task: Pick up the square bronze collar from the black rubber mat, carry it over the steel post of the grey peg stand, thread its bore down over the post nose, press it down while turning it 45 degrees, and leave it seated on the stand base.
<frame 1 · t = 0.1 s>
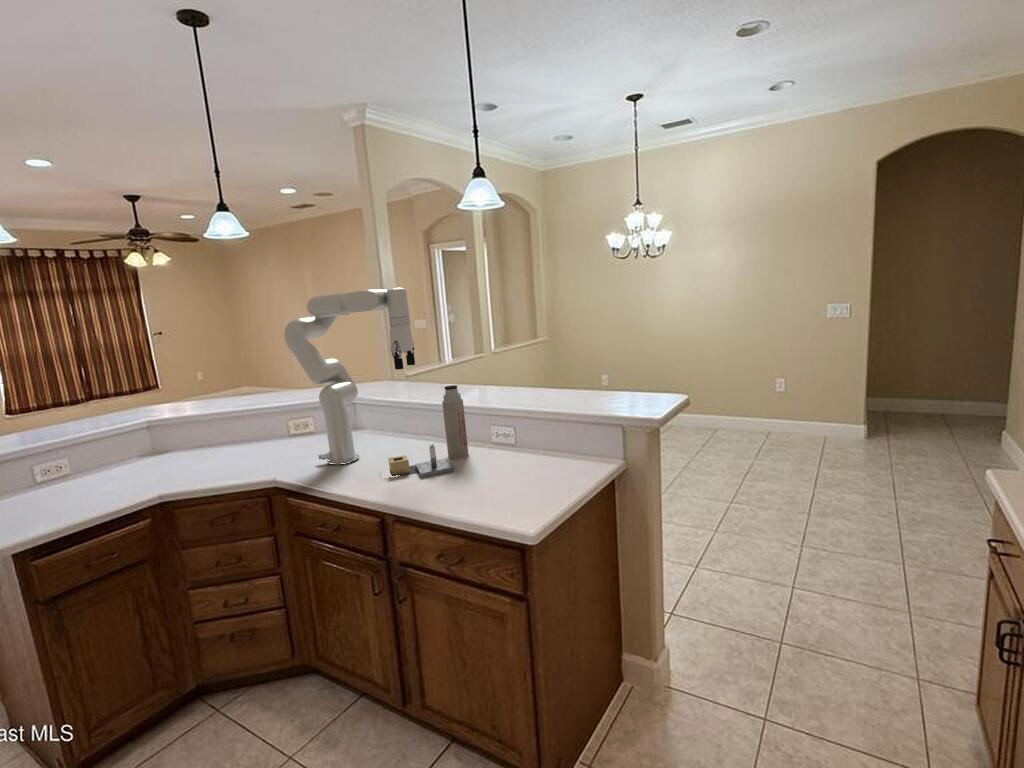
hand: (405, 367, 200), 37 cm above the countertop, tool pointing down, fingers open, 9 cm apart
mat: (399, 472, 194), on the countertop
collar: (399, 472, 194), resting on mat
thermos bottle: (458, 455, 209), on the countertop
grey peg stand: (434, 470, 193), on the countertop
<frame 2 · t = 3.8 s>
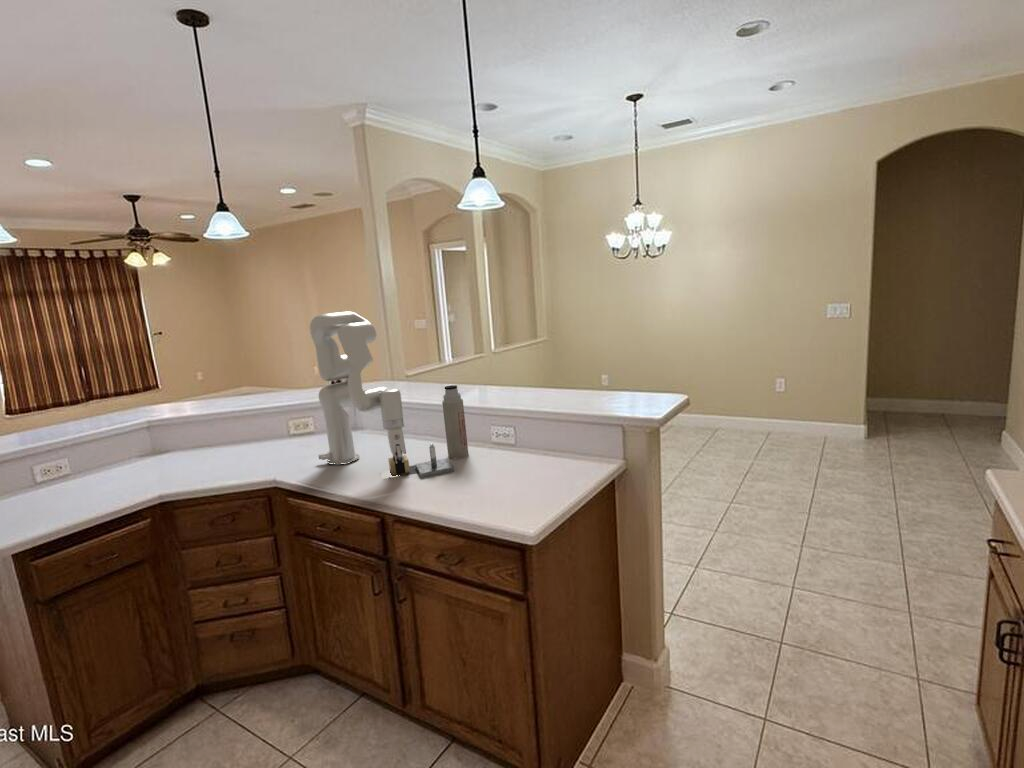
hand: (399, 470, 194), 1 cm above the countertop, tool pointing down, fingers closed on collar, 6 cm apart
collar: (399, 472, 194), resting on mat, touching gripper
everything else where it was.
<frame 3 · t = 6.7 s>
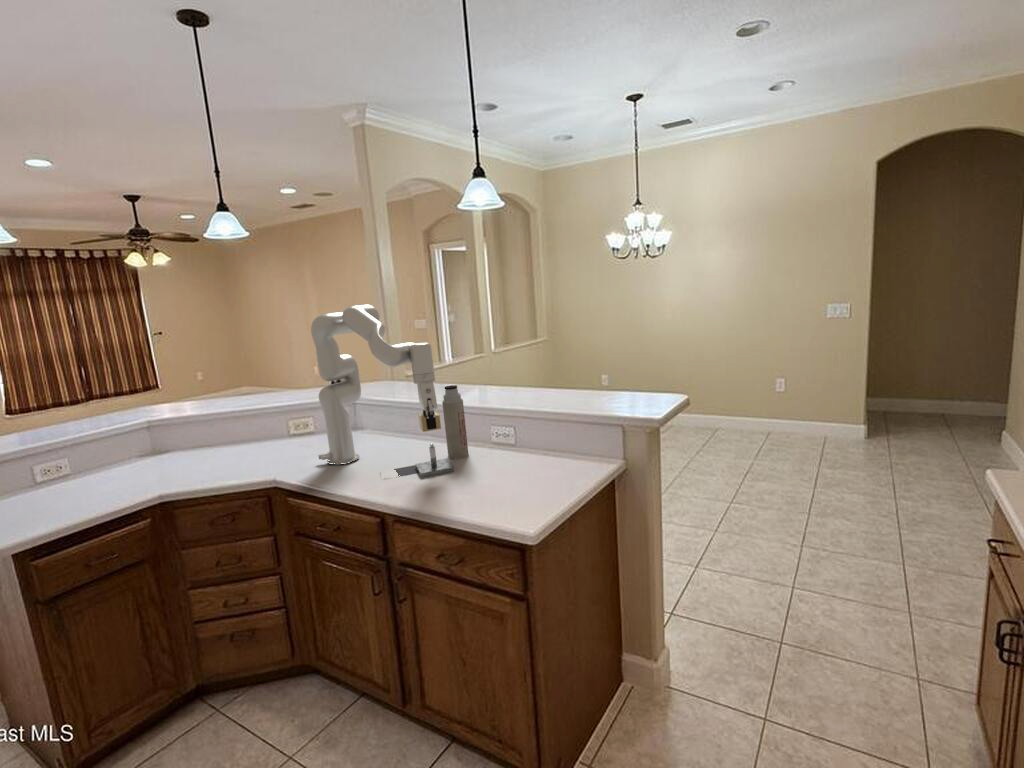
hand: (430, 426, 190), 17 cm above the countertop, tool pointing down, fingers closed on collar, 6 cm apart
collar: (430, 428, 190), point 16 cm above the countertop, touching gripper
everything else where it was.
when the fingers open (4 cm above the countertop, at t = 9.5 s): collar stays where it is, resting on grey peg stand.
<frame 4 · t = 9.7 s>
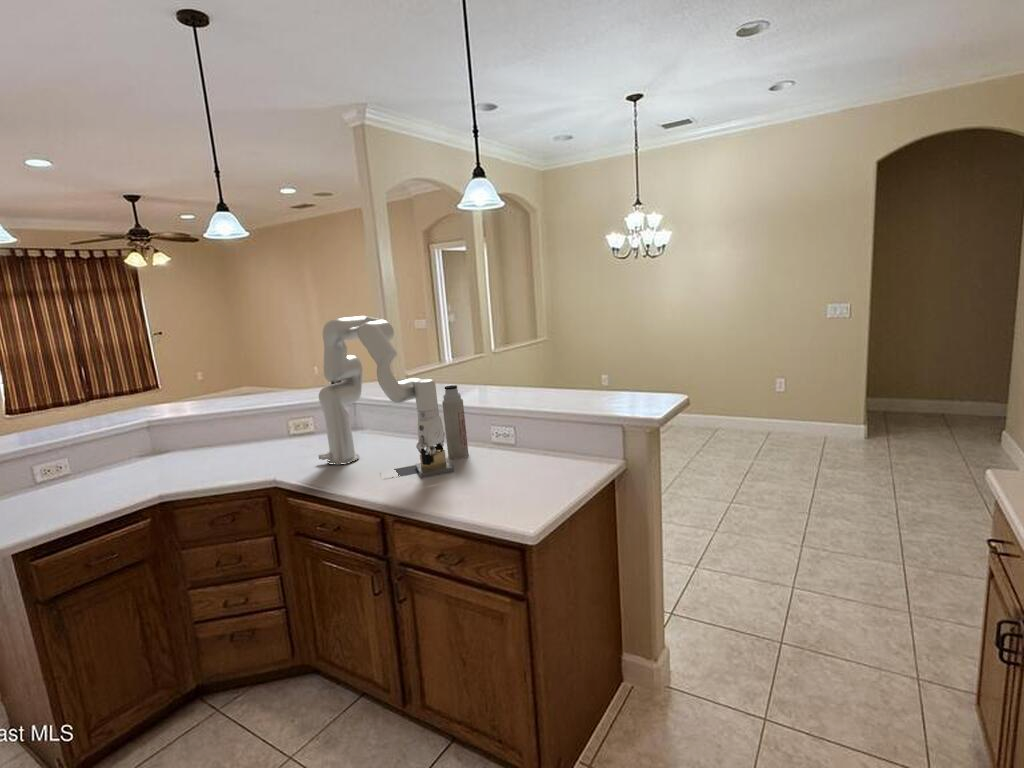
hand: (433, 460, 193), 4 cm above the countertop, tool pointing down, fingers open, 8 cm apart
collar: (433, 465, 193), point 2 cm above the countertop, touching grey peg stand
everything else where it was.
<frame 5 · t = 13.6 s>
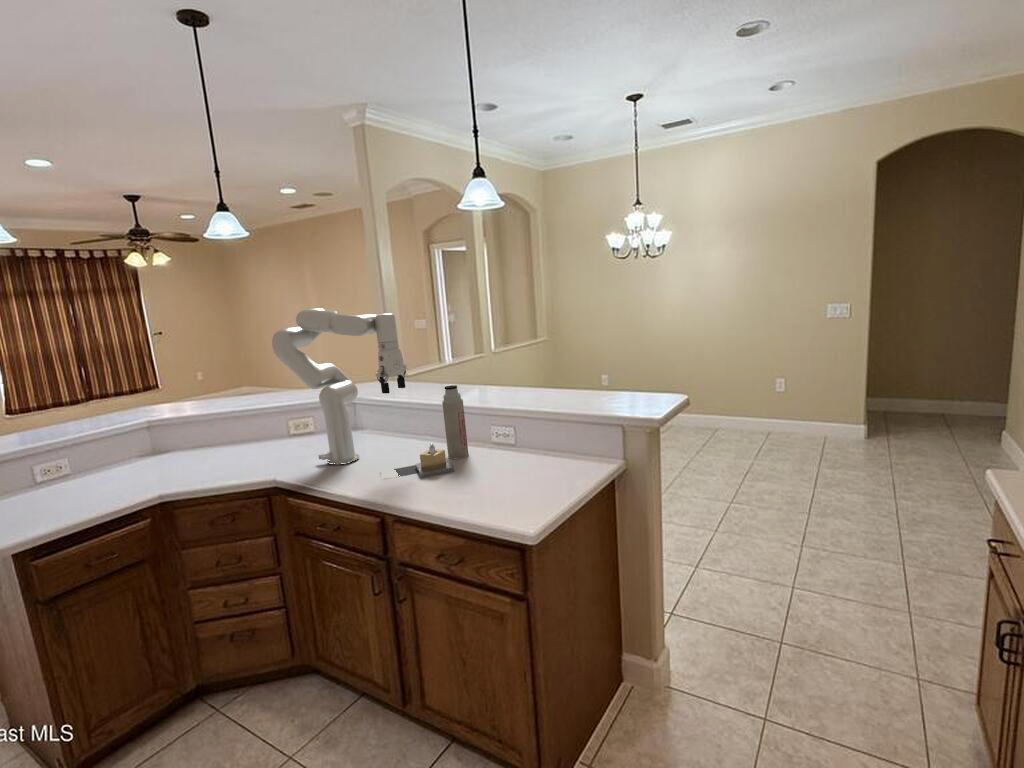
hand: (394, 390, 203), 28 cm above the countertop, tool pointing down, fingers open, 9 cm apart
nothing on the countertop moved.
at the end: collar 0.1 cm off-centre on the grey peg stand, point 2.0 cm above the grey peg stand's base; collar tilted 0°; the gripper is holding nothing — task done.
